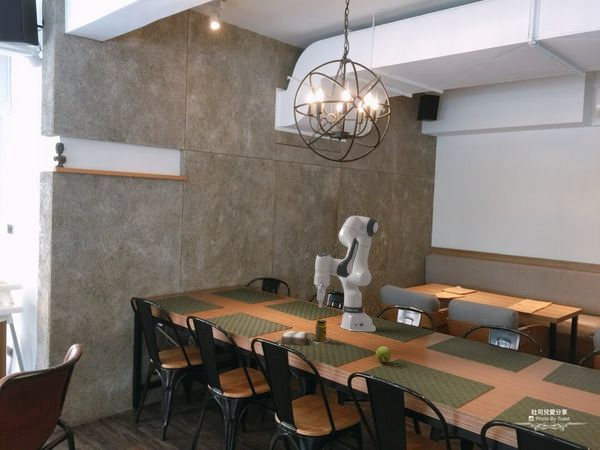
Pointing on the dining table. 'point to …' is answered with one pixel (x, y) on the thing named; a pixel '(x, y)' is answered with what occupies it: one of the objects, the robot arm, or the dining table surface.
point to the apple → (383, 354)
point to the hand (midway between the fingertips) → (320, 305)
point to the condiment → (320, 332)
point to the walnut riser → (294, 337)
